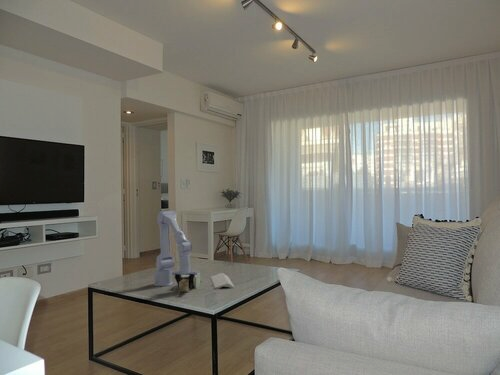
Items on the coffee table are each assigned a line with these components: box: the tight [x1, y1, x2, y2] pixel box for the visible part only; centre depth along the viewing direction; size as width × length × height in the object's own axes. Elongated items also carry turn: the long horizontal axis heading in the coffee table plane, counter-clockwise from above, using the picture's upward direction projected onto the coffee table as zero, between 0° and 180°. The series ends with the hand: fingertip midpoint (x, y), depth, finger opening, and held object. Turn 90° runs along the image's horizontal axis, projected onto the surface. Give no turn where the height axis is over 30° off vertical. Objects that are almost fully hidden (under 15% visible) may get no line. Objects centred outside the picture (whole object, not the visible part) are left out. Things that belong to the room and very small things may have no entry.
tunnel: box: [181, 272, 201, 289], centre depth 207 cm, size 10×10×7 cm
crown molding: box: [209, 272, 236, 290], centre depth 215 cm, size 29×12×4 cm, turn 11°
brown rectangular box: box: [178, 278, 194, 293], centre depth 200 cm, size 5×12×5 cm, turn 175°
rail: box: [175, 291, 187, 298], centre depth 199 cm, size 3×30×1 cm, turn 175°
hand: (184, 288), depth 196 cm, fingers open, 5 cm apart
